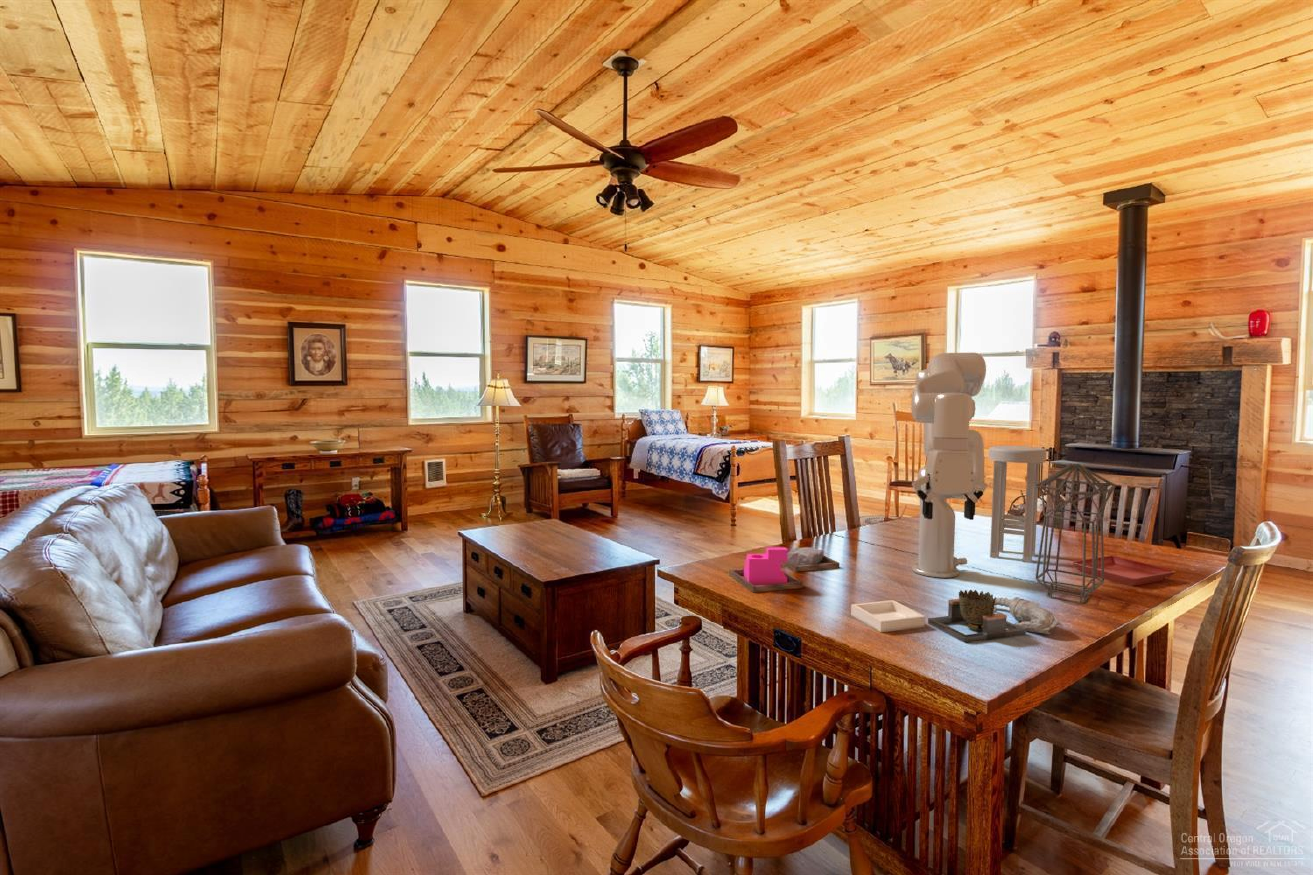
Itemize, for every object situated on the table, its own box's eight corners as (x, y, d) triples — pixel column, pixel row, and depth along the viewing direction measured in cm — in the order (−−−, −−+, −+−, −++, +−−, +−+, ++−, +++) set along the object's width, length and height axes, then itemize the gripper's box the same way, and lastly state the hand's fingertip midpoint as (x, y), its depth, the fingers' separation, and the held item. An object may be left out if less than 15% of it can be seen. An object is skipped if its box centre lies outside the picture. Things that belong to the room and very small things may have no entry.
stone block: (782, 569, 197) (814, 568, 192) (780, 553, 198) (811, 551, 192) (796, 562, 207) (826, 560, 202) (793, 547, 208) (824, 545, 202)
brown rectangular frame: (811, 554, 210) (811, 549, 210) (839, 567, 194) (839, 562, 194) (770, 557, 206) (770, 552, 206) (795, 571, 190) (795, 566, 190)
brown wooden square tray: (774, 570, 191) (774, 565, 191) (802, 587, 175) (802, 582, 175) (729, 574, 187) (729, 569, 187) (753, 592, 171) (753, 586, 171)
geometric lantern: (1109, 597, 168) (1119, 463, 164) (1096, 613, 156) (1106, 470, 153) (1041, 583, 179) (1048, 457, 175) (1024, 597, 167) (1031, 464, 164)
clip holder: (984, 616, 153) (985, 595, 153) (1026, 634, 142) (1027, 612, 141) (927, 623, 149) (928, 602, 149) (965, 643, 137) (966, 620, 137)
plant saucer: (1133, 589, 174) (1134, 577, 174) (1069, 572, 191) (1070, 561, 191) (1176, 582, 181) (1177, 570, 181) (1110, 565, 198) (1111, 555, 198)
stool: (989, 547, 218) (994, 444, 215) (1043, 554, 209) (1048, 447, 206) (981, 557, 206) (986, 448, 203) (1037, 565, 197) (1043, 451, 194)
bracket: (787, 587, 175) (787, 549, 174) (748, 586, 175) (749, 549, 174) (779, 574, 187) (779, 539, 186) (743, 574, 187) (744, 539, 186)
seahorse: (962, 608, 157) (1042, 623, 139) (991, 585, 162) (1071, 597, 144) (969, 627, 157) (1049, 644, 139) (997, 604, 162) (1078, 618, 144)
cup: (998, 636, 141) (1000, 600, 140) (962, 634, 143) (963, 598, 142) (988, 624, 148) (989, 590, 148) (954, 621, 150) (955, 588, 149)
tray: (892, 610, 158) (893, 599, 158) (924, 627, 147) (925, 616, 146) (851, 614, 155) (851, 604, 154) (880, 632, 143) (880, 621, 143)
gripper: (979, 445, 155) (976, 516, 155) (907, 444, 154) (905, 515, 155) (996, 447, 147) (993, 521, 148) (920, 446, 147) (918, 520, 147)
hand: (948, 518), depth 151 cm, fingers open, 9 cm apart
